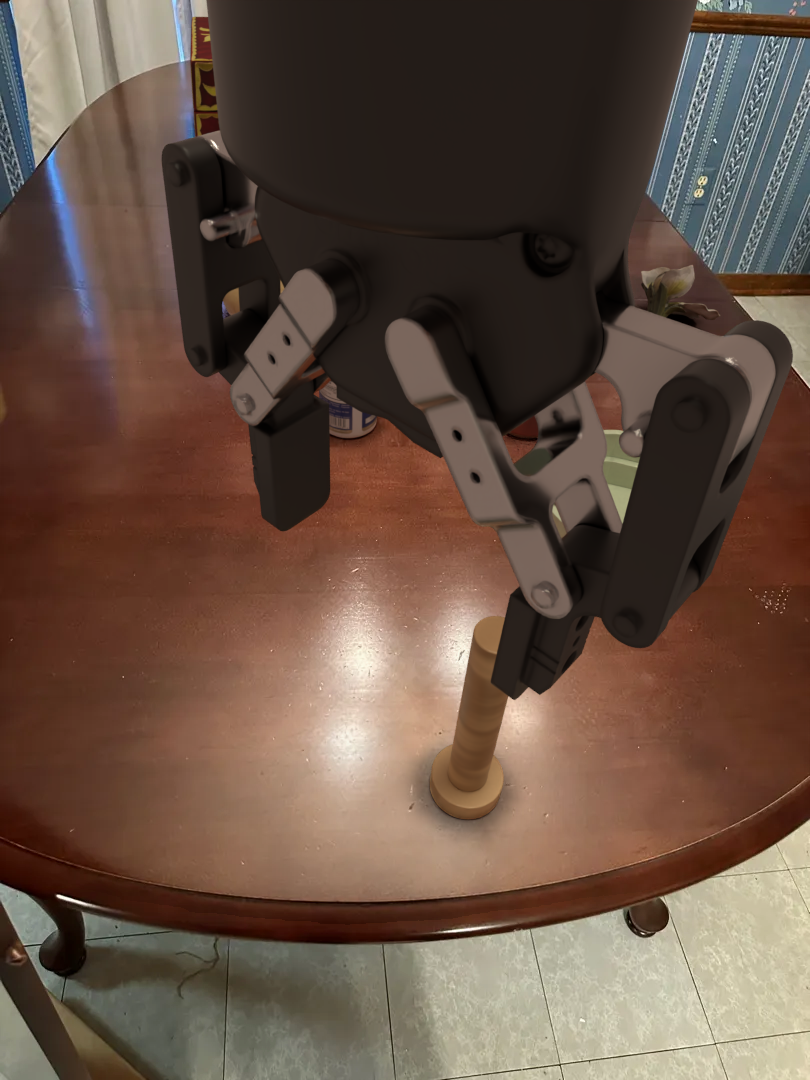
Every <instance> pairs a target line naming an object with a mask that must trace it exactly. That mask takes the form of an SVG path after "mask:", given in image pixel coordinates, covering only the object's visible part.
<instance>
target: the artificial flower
mask: <svg viewBox="0 0 810 1080" xmlns="http://www.w3.org/2000/svg"><path fill="white" fill-rule="evenodd" d="M640 274H641V282H642V283H640V285H641V287H642V289H643V291H644V293H645V296H646V300H647V305H646V311H648V312H651V313H654V314H657V315H660V316H662V317H665V318H668V316H669V315H680V316H685V317H688V318H691V319H693V320H696V319H700V317H702V318H704V319H705V320H707V321H715V320H717V318H719V317H721V314H720V313H719V311H718V310H716V309H711V308H709V309H708V307H707V305H706V304H703V303H686V302H683V301H671V300H674V299H678V298H681V297H683V296H684V295H686V294H687V293H688V292H689V291H690V290H691V288H692V286H693V285H694V282H695V276H696V275H695V269H694V265H693V264H690V265H688V266H683V267H681V268H672V269H670V268H669V267H665V266H661V267H660V266H659V267H656V268H653V269H651V270H641V271H640ZM670 301H671V302H670Z"/></svg>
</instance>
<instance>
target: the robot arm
mask: <svg viewBox="0 0 810 1080" xmlns="http://www.w3.org/2000/svg"><path fill="white" fill-rule="evenodd" d="M205 2H206V8H207V9H206V10H207V17H208V21H209V31H210V41H211V51H212V61H213V71H214V81H215V91H216V100H217V110H218V120H219V128H220V130H219V131H215V132H212V133H208V134H204V135H200V136H197V137H195V136H193V137H190V138H186V139H182V140H179V141H175V142H171V143H167V144H166V145H165V146H164V147H163V149H162V151H161V170H162V177H163V178H162V179H163V187H164V193H165V201H166V210H167V218H168V227H169V235H170V243H171V252H172V261H173V269H174V277H175V284H176V285H175V286H176V293H177V301H178V309H179V319H180V327H181V334H182V343H183V349H184V352H185V355H186V358H187V360H188V362H189V364H190V366H191V367H192V369H194V371H195V372H196V373H198V375H200V376H202V377H203V378H209V377H212V376H214V375H216V374H220V376H221V377H222V378H223V379H224V380H225V381H226V382H227V383H228V384H229V385H230V388H229V397H230V402H231V404H232V408H233V409H234V411H235V412H236V414H237V415H238V416H239V418H240V419H241V420H242V421H243V422H244V423H246V424H247V425H248V435H249V443H250V445H249V446H250V454H251V455H252V456H251V465H252V466H253V467H252V473H253V482H254V485H255V487H256V490H257V493H258V495H259V503H260V504H259V507H260V516H261V518H262V519H263V520H264V521H265V522H267V523H269V524H270V525H271V526H272V527H274V528H275V529H277V530H278V531H279V532H287V531H289V530H291V529H292V528H294V527H296V526H297V525H299V524H300V523H301V522H303V521H304V520H306V519H308V518H309V517H310V516H312V515H313V514H315V513H316V512H318V511H319V510H321V509H322V508H323V507H324V506H325V505H326V503H327V502H328V500H329V498H330V495H331V440H330V439H331V437H330V435H331V434H330V428H329V403H327V402H326V401H324V400H322V399H321V398H319V396H317V395H315V394H316V393H317V392H319V390H321V389H323V388H324V387H325V386H326V385H327V384H328V383H329V382H330V381H332V382H333V383H334V384H335V385H336V386H337V398H338V399H340V400H341V401H343V402H345V403H346V404H348V405H350V406H352V407H353V408H355V409H357V410H358V411H360V412H363V413H367V414H370V415H374V416H377V418H382V419H384V420H387V421H388V422H389V423H390V424H391V425H393V426H394V427H395V428H396V429H397V430H399V432H400V433H402V435H404V436H405V437H406V438H407V439H409V440H410V442H412V443H413V444H415V445H417V446H418V447H420V448H422V449H424V450H425V451H427V452H429V453H431V454H432V455H434V456H436V457H437V458H439V459H442V458H443V460H444V462H445V464H446V467H447V468H448V470H449V473H450V475H451V478H452V480H453V483H454V485H455V486H456V489H457V491H458V494H459V496H460V498H461V501H462V502H463V505H464V507H465V509H466V512H467V514H468V517H469V518H470V519H471V521H472V522H473V523H474V524H475V525H477V526H479V527H481V528H488V527H489V528H491V529H493V531H494V532H495V533H496V535H497V537H498V539H499V541H500V544H501V546H502V549H503V550H504V553H505V555H506V558H507V560H508V563H509V564H510V567H511V569H512V572H513V574H514V577H515V578H516V581H517V583H518V587H517V588H516V589H515V590H514V591H512V592H511V593H510V594H509V597H508V603H507V607H506V612H505V616H504V617H505V620H504V624H503V628H502V633H501V637H500V642H499V646H498V650H497V655H496V659H495V664H494V668H493V672H492V677H491V684H492V685H493V686H495V687H496V688H498V689H499V690H500V691H502V692H503V693H505V694H506V695H507V696H508V698H510V699H511V700H513V701H516V700H517V699H519V698H520V697H521V696H522V695H523V694H524V693H525V692H526V691H527V689H528V688H529V689H531V691H532V692H535V693H536V694H537V695H539V696H541V695H542V694H543V693H545V692H547V691H548V690H550V689H551V688H552V687H553V686H554V685H555V684H556V682H557V681H558V680H560V679H561V677H562V676H563V675H564V674H565V673H566V672H567V671H568V669H569V668H570V667H571V666H572V665H573V664H574V663H575V662H576V661H577V659H578V658H579V657H580V656H581V655H582V654H583V651H584V649H585V646H586V644H587V639H588V637H589V634H590V631H591V628H592V626H593V623H594V621H595V618H599V619H601V622H602V624H603V626H604V628H605V629H606V631H607V632H608V633H609V634H610V635H611V636H612V637H613V639H615V640H617V641H618V642H620V643H621V644H623V645H625V646H627V647H630V648H633V649H646V648H648V647H649V648H650V647H651V646H652V645H653V644H654V643H655V642H656V641H657V639H658V638H659V637H660V636H661V635H662V634H663V632H665V630H666V628H667V626H668V624H669V621H670V620H671V619H672V618H673V616H674V615H675V614H676V613H677V612H678V610H680V608H681V607H682V605H684V604H685V602H686V601H687V600H688V599H689V598H690V597H691V595H692V594H693V593H695V592H697V591H698V590H699V589H700V588H701V587H702V586H703V584H704V583H705V582H706V581H707V580H708V578H709V577H710V576H711V575H712V573H713V570H714V568H715V565H716V562H717V560H718V557H719V555H720V552H721V549H722V547H723V544H724V541H725V539H726V536H727V534H728V531H729V528H730V526H731V525H732V521H733V519H734V516H735V513H736V511H737V508H738V505H739V504H740V503H739V502H740V501H741V498H742V495H743V492H744V490H745V488H746V484H747V482H748V480H749V477H750V475H751V472H752V469H753V468H754V467H753V466H754V465H755V461H756V458H757V456H758V453H759V451H760V448H761V446H762V443H763V440H764V438H765V435H766V433H767V430H768V428H769V425H770V423H771V421H772V417H773V415H774V413H775V410H776V407H777V404H778V402H779V399H780V397H781V394H782V391H783V389H784V386H785V384H786V381H787V379H788V376H789V373H790V372H791V368H792V365H793V361H794V351H793V350H794V349H793V346H792V343H791V342H790V339H789V338H788V336H787V335H786V334H785V333H784V331H782V329H780V328H779V327H778V326H776V325H775V324H773V323H770V322H767V321H765V320H759V319H758V320H757V319H756V320H755V319H752V320H746V321H742V322H740V323H738V324H736V325H735V326H733V327H732V328H730V330H728V331H727V332H726V333H725V334H723V335H718V334H714V333H711V332H708V331H706V330H703V329H700V328H697V327H694V326H691V325H688V324H686V323H682V322H680V321H677V320H674V319H671V318H668V317H666V318H665V317H662V316H660V315H657V314H654V313H651V312H648V311H647V310H645V309H643V308H639V307H636V301H635V296H634V291H633V286H632V283H631V276H630V269H629V268H630V267H629V244H630V237H631V232H632V229H633V226H634V223H635V220H636V218H637V215H638V212H639V210H640V207H641V204H642V202H643V199H644V196H645V194H646V192H647V188H648V185H649V183H650V180H651V177H652V173H653V170H654V167H655V164H656V159H657V156H658V152H659V149H660V145H661V141H662V137H663V134H664V129H665V124H666V122H667V118H668V115H669V110H670V107H671V103H672V100H673V95H674V92H675V87H676V84H677V81H678V77H679V73H680V70H681V65H682V61H683V58H684V55H685V50H686V47H687V43H688V39H689V37H690V32H691V28H692V25H693V22H694V17H695V13H696V9H697V5H698V2H699V0H206V1H205ZM280 280H281V282H282V284H283V286H284V290H283V291H282V293H281V286H280ZM237 288H238V290H239V307H240V312H238V313H235V314H233V315H229V316H227V317H224V311H223V304H224V302H223V299H224V297H225V296H226V294H227V293H228V292H230V291H232V290H234V289H237ZM595 374H598V375H600V376H602V377H604V378H605V379H606V380H607V381H608V382H609V383H610V384H611V385H612V386H613V388H614V390H615V392H616V393H617V395H618V398H619V401H620V406H621V415H620V423H621V425H620V426H621V429H622V431H623V433H622V434H621V435H620V437H619V445H620V448H621V449H622V451H623V452H624V453H625V454H627V455H628V456H630V457H635V458H636V457H640V459H639V463H638V467H637V471H636V474H635V478H634V482H633V486H632V490H631V493H630V497H629V501H628V505H627V509H626V512H625V516H624V520H623V524H622V521H621V518H620V516H619V513H618V511H617V508H616V505H615V503H614V500H613V497H612V495H611V492H610V489H609V487H608V484H607V481H606V479H605V476H604V472H603V464H604V460H605V458H606V454H607V441H606V436H605V433H604V431H603V430H604V428H603V426H602V423H601V420H600V417H599V414H598V412H597V409H596V406H595V404H594V401H593V398H592V396H591V393H590V390H589V387H588V385H587V382H586V381H587V380H588V379H589V378H590V377H592V376H593V375H595ZM533 416H535V418H536V421H537V425H538V438H537V440H536V443H535V445H534V446H533V448H532V449H530V450H529V451H528V452H526V453H525V454H524V455H523V456H521V457H520V458H519V459H517V460H516V461H515V462H513V460H512V457H511V454H510V452H509V449H508V447H507V445H506V443H505V439H504V438H503V437H505V436H506V435H508V433H509V432H511V431H512V430H514V429H515V428H517V427H518V426H520V425H521V424H522V423H524V422H525V421H527V420H528V419H530V418H531V417H533ZM554 503H555V506H556V508H557V511H558V513H559V516H560V518H561V521H562V523H563V526H564V528H565V531H566V533H567V534H566V535H565V536H563V537H562V538H561V537H560V534H559V532H558V529H557V527H556V524H555V522H554V519H553V513H552V512H553V505H554Z"/></svg>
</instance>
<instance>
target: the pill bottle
mask: <svg viewBox="0 0 810 1080" xmlns="http://www.w3.org/2000/svg"><path fill="white" fill-rule="evenodd" d="M318 397H319V398H321V399H322V400H324V401H326V402H327V403H329V428H330V435H332V436H334V437H338V438H342V439H355V438H360V437H362V436H365V435H367V434H369V433H371V432H372V431H373V430H374V429H375V427H376V425H377V422H378V416H374V415H370V414H367V413H363V412H360V411H358V410H357V409H355V408H353V407H352V406H350V405H348V404H346V403H345V402H343V401H341V400H340V399H338V398H337V386H336V385H335V384H334V383H333V382H332V381H330V382H329V383H328V384H327V385H326V386H325V387H324V388H323V389H321V390H319V391H318Z"/></svg>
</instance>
